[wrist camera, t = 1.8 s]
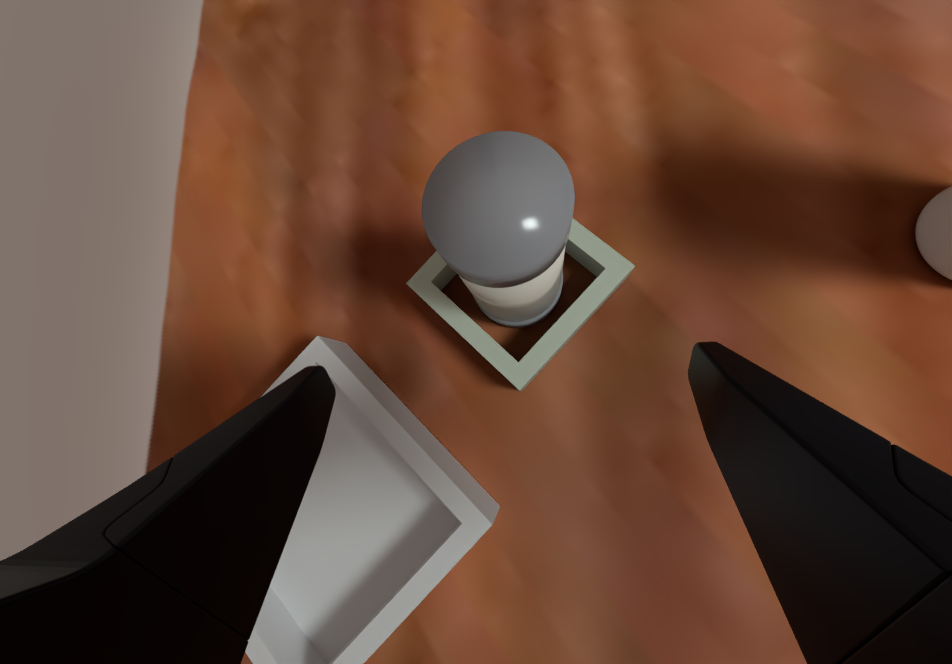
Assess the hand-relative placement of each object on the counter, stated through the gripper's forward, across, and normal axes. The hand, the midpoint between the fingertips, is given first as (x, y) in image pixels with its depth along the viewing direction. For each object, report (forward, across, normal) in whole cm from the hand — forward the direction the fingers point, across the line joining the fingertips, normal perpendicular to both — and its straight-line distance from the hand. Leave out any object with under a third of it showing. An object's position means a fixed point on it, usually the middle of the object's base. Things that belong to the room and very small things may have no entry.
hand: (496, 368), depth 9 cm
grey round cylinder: (+12, 0, +5) cm, 13 cm away
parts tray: (+4, +11, +13) cm, 17 cm away
